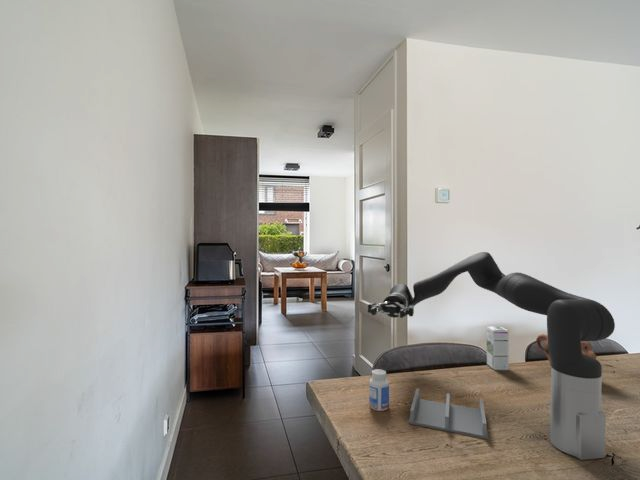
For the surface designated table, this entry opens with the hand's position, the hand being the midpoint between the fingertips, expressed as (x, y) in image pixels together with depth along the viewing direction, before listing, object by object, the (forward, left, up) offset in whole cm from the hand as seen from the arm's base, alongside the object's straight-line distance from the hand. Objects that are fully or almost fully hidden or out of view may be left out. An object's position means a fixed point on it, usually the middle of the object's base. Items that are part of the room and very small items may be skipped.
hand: (386, 313), depth 107 cm
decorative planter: (+7, -68, -24) cm, 73 cm away
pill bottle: (-9, +5, -24) cm, 26 cm away
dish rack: (-17, -11, -24) cm, 31 cm away
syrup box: (+15, -48, -24) cm, 56 cm away
